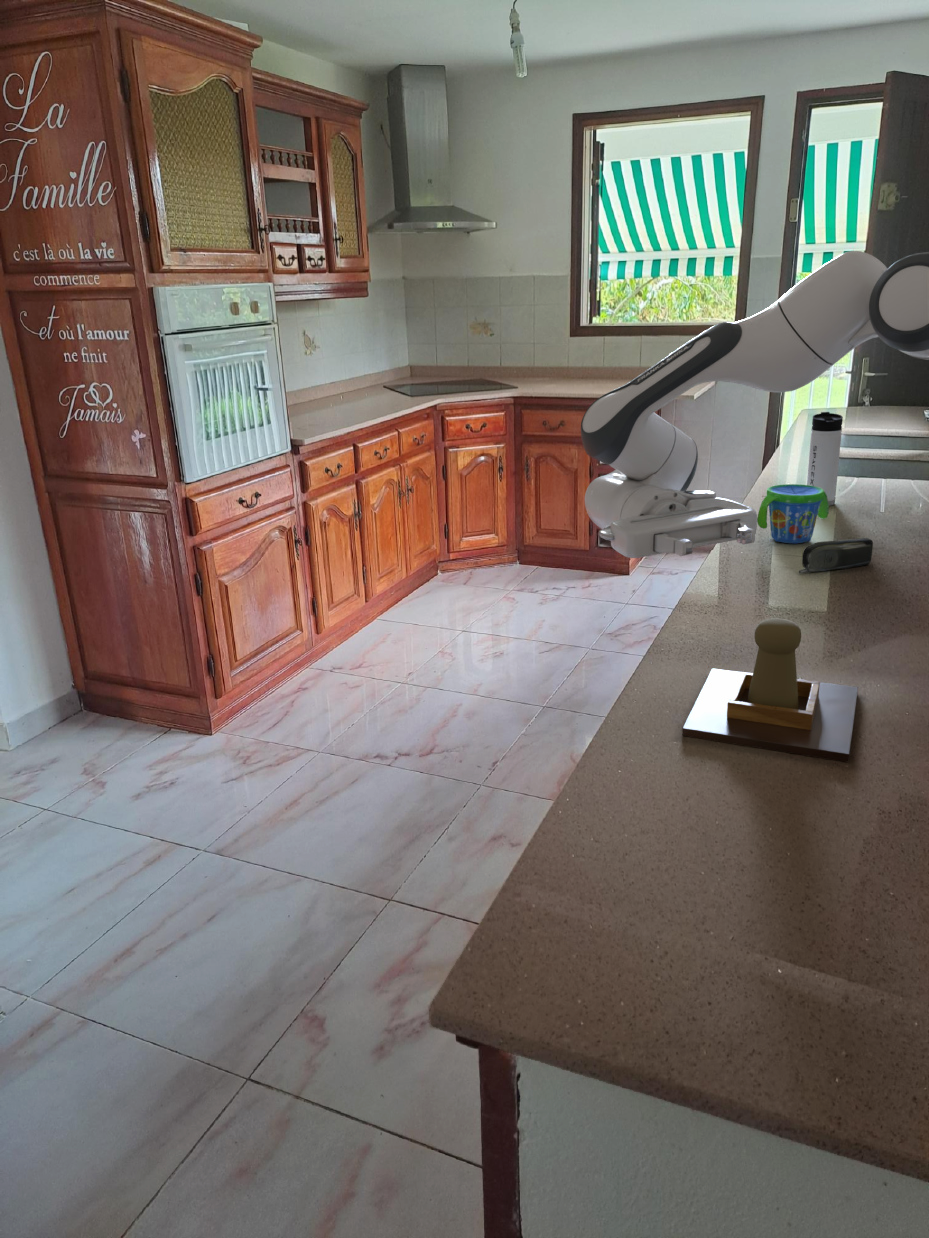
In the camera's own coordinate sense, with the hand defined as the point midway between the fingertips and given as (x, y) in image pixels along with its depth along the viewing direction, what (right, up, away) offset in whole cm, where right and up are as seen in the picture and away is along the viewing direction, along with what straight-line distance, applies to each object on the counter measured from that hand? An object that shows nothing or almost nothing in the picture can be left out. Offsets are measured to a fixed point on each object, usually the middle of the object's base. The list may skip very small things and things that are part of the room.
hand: (719, 543), depth 111 cm
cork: (+5, -20, -4) cm, 21 cm away
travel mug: (+49, +17, +89) cm, 103 cm away
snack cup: (+33, +6, +64) cm, 72 cm away
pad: (+5, -21, -4) cm, 22 cm away
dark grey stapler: (+34, -1, +46) cm, 57 cm away
